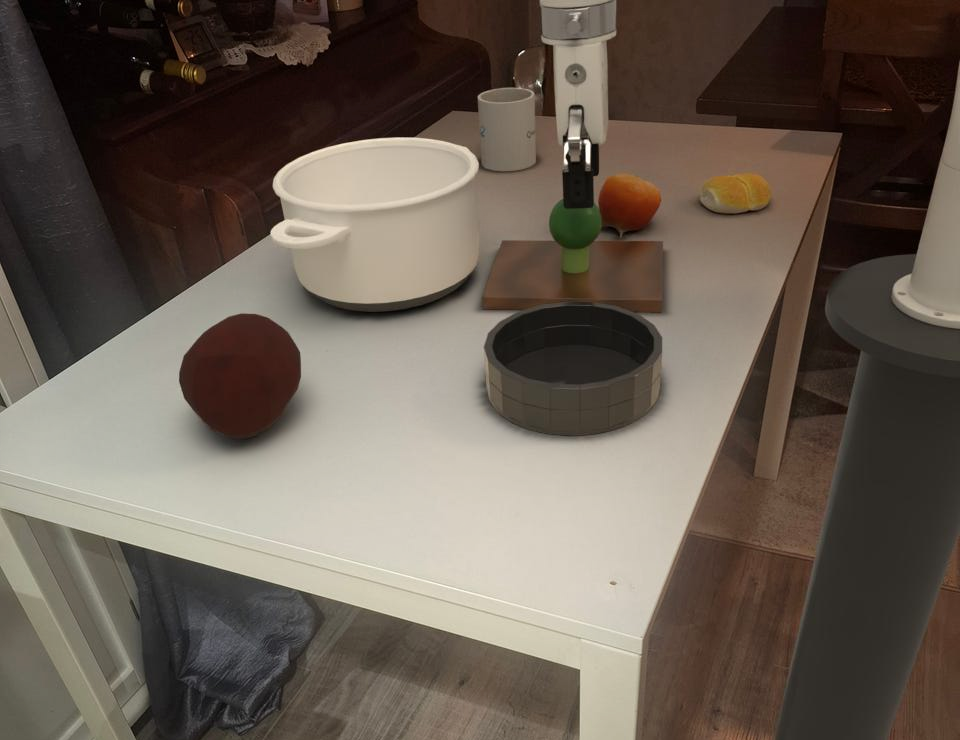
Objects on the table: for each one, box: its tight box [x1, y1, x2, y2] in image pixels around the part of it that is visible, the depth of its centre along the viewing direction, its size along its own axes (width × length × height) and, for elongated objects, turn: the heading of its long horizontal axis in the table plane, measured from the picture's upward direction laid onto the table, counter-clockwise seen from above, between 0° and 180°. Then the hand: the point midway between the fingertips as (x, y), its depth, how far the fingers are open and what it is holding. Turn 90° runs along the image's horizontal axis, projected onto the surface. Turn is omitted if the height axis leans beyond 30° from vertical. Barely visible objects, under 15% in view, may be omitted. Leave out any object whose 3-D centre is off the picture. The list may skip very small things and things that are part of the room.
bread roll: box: [699, 172, 772, 214], centre depth 120 cm, size 8×9×4 cm
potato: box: [178, 312, 302, 440], centre depth 83 cm, size 11×13×10 cm
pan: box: [483, 302, 663, 437], centre depth 85 cm, size 17×17×5 cm
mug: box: [477, 87, 537, 172], centre depth 139 cm, size 12×9×10 cm
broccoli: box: [548, 198, 602, 273], centre depth 102 cm, size 6×6×8 cm
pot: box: [269, 137, 480, 313], centre depth 105 cm, size 33×23×14 cm
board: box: [481, 239, 664, 313], centre depth 105 cm, size 20×16×2 cm
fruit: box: [597, 172, 662, 239], centre depth 115 cm, size 8×8×8 cm
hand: (582, 190), depth 99 cm, fingers open, 9 cm apart
